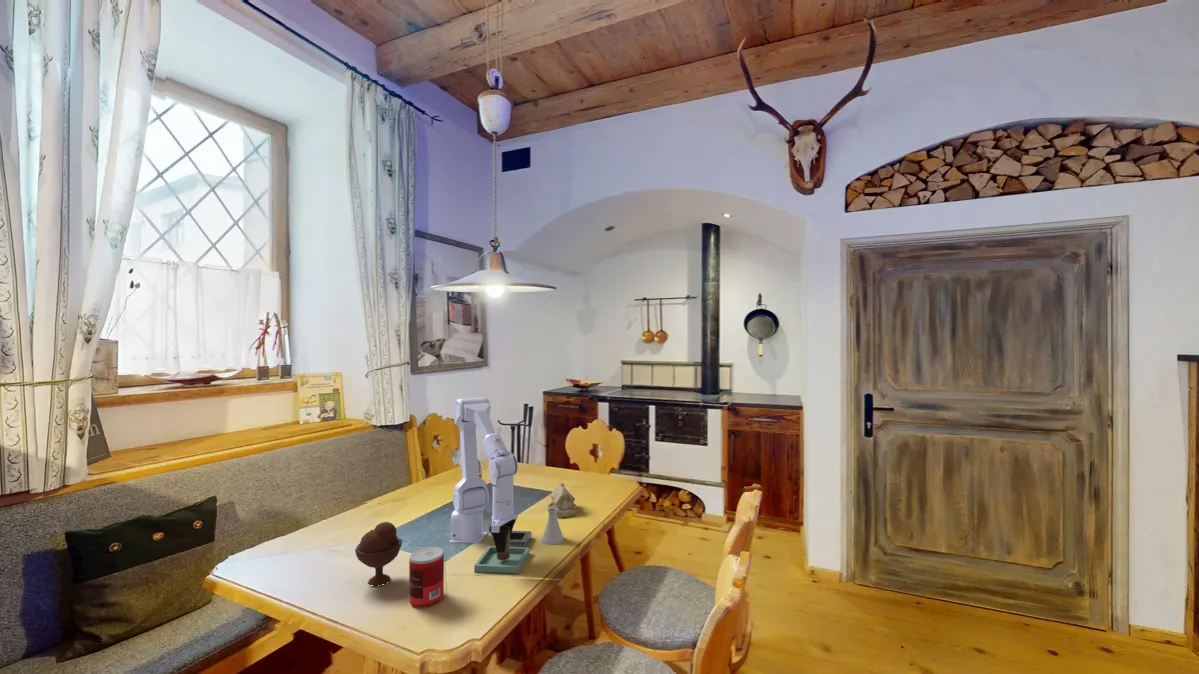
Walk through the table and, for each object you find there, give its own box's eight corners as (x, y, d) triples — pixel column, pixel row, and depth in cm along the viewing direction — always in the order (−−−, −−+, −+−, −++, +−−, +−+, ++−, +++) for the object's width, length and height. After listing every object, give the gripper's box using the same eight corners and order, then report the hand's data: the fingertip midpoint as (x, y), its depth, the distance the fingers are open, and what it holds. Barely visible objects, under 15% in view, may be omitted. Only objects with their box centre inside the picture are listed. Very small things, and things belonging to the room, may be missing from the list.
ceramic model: (544, 506, 179) (544, 479, 179) (573, 503, 182) (573, 477, 182) (550, 520, 165) (550, 490, 165) (582, 516, 168) (582, 488, 168)
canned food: (447, 590, 119) (447, 546, 119) (437, 608, 111) (437, 560, 111) (416, 591, 118) (416, 546, 118) (404, 609, 110) (404, 561, 110)
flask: (560, 547, 143) (560, 514, 143) (537, 545, 144) (537, 512, 144) (567, 538, 150) (567, 506, 150) (545, 536, 151) (545, 504, 151)
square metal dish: (498, 549, 141) (498, 541, 142) (506, 538, 149) (506, 530, 149) (525, 550, 141) (525, 542, 141) (531, 539, 149) (531, 531, 149)
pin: (495, 559, 131) (495, 530, 131) (499, 554, 134) (499, 525, 134) (507, 560, 130) (507, 530, 130) (511, 554, 134) (511, 525, 134)
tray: (474, 574, 127) (474, 565, 127) (488, 553, 139) (488, 546, 139) (518, 576, 126) (518, 567, 126) (529, 555, 138) (529, 547, 138)
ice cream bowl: (388, 567, 131) (388, 512, 131) (409, 580, 123) (409, 522, 124) (348, 582, 122) (348, 524, 122) (368, 597, 115) (368, 535, 115)
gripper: (509, 508, 125) (509, 561, 125) (523, 491, 139) (523, 538, 139) (483, 508, 125) (483, 560, 125) (500, 490, 140) (500, 537, 140)
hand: (503, 548), depth 132 cm, fingers closed on pin, 3 cm apart
